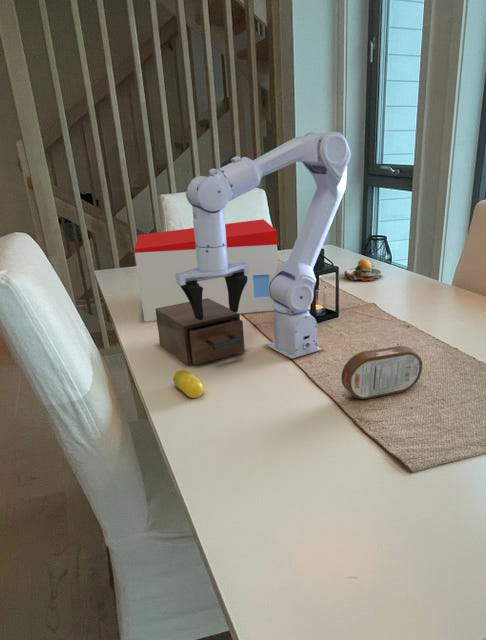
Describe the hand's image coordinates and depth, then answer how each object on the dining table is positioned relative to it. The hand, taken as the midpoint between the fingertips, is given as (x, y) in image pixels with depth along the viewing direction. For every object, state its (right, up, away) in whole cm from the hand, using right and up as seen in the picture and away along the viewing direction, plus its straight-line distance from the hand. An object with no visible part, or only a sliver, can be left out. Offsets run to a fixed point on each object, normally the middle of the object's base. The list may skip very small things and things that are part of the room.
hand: (216, 314), depth 100 cm
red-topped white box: (-9, +6, +42) cm, 43 cm away
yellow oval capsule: (-4, -15, -8) cm, 17 cm away
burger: (+36, +18, +68) cm, 79 cm away
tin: (+31, -15, -9) cm, 36 cm away
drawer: (-3, -7, +8) cm, 11 cm away
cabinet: (-6, -6, +12) cm, 15 cm away
